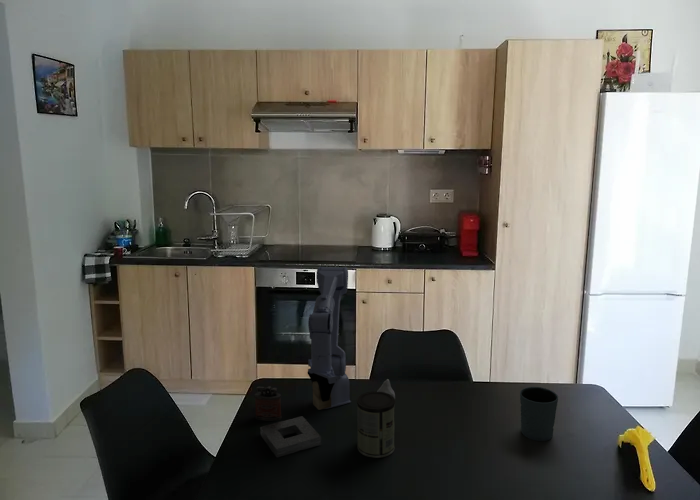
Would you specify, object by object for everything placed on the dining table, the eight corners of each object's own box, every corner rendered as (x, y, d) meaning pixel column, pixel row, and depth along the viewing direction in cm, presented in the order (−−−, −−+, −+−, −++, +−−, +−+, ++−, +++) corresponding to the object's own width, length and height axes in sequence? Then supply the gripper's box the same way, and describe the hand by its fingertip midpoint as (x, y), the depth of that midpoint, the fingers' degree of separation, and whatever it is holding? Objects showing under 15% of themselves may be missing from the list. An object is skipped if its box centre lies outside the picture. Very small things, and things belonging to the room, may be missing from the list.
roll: (380, 373, 163) (397, 376, 160) (380, 409, 165) (397, 412, 163) (373, 380, 157) (391, 383, 155) (373, 418, 159) (391, 421, 157)
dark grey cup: (556, 428, 152) (559, 390, 150) (554, 446, 143) (556, 405, 141) (520, 421, 156) (522, 384, 154) (515, 438, 147) (517, 398, 145)
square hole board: (302, 423, 156) (302, 416, 156) (321, 444, 145) (320, 436, 144) (260, 435, 150) (260, 426, 149) (276, 457, 139) (276, 449, 138)
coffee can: (363, 435, 150) (363, 388, 147) (398, 441, 146) (399, 394, 144) (351, 454, 140) (351, 405, 138) (389, 461, 137) (389, 411, 134)
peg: (325, 401, 156) (324, 379, 154) (331, 406, 152) (330, 384, 151) (313, 404, 154) (312, 381, 152) (318, 410, 150) (318, 387, 149)
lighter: (282, 415, 161) (281, 385, 159) (280, 421, 158) (279, 390, 156) (257, 414, 162) (255, 384, 160) (254, 419, 159) (252, 389, 157)
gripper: (298, 347, 154) (299, 390, 157) (319, 364, 142) (320, 411, 144) (320, 343, 158) (320, 385, 160) (342, 359, 145) (342, 405, 148)
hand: (322, 397), depth 153 cm, fingers closed on peg, 4 cm apart
